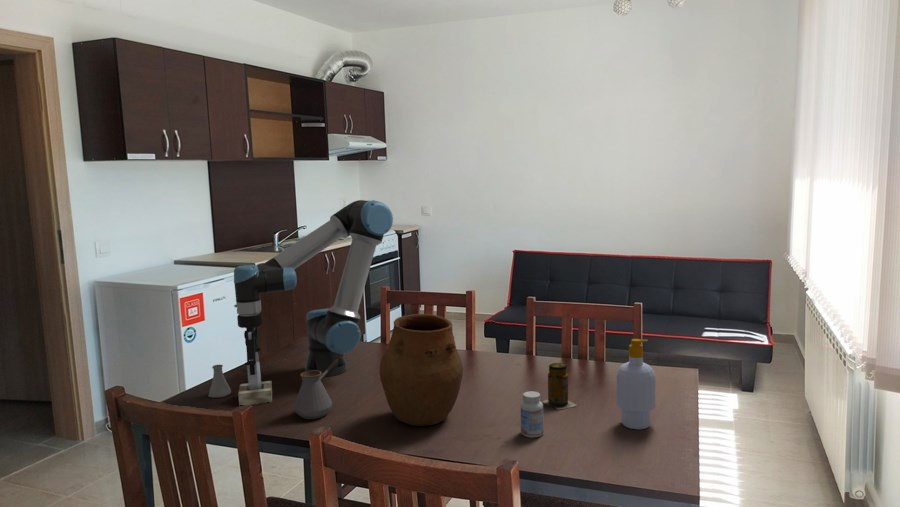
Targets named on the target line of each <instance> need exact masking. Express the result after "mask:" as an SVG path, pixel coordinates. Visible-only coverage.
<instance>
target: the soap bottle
mask: <svg viewBox="0 0 900 507" xmlns="http://www.w3.org/2000/svg"><path fill="white" fill-rule="evenodd" d="M648 341H649V339H640V338H632V339H631V342H630V344H629V345H628V346H629V347H628V354H629V355H628V361H627V362H624V363H622V364H621V365H620V366H619V369H618V371H617V372H616V374H617V375H616V405H617V407H619V408H620V409H621V423H622V425H623V426H624V427H626V428H628V429H631V430H645V429H648V428H649V427H650V426H651V411H652V410H654V409H655V408H656V403H657V402H656V397H657V396H656V386H657V385H656V380H657V379H656V373H655V371H654V369H653V368H652V367H651V365H650V364H648V363H645V362H644V345H643V344H641V343H643V342H644V343H646V342H648Z"/></svg>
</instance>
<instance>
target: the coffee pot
mask: <svg viewBox="0 0 900 507" xmlns="http://www.w3.org/2000/svg"><path fill="white" fill-rule="evenodd" d="M343 355H344V358H343ZM341 357H342V358H343V359H345V360H346V359H347V358H348V356H347V355H346V354H345V353H344V354H341V355H340V356H339V357H337V359H336V360H335V361H333V363H332V364H331V365H330V366H329V367H328V368H327V370H326V371H325V372H324V373H323V374H322V372H321V371H318V370H311V371H305V370H304V371H302V372H301V373H300V374H299V376H300V377H301V380H302V382H301V386H300V388H299V392H298V394H297V397H296V400H295V403H294V405H293V410H294V412H295V413H296V414H297V415H298V416H300V417H301V418H303V419H304V420H305V419H306V420H315V419H316V420H317V419H321V418H323V417H325V416H326V415H327V414H328V412H330V411H331V409H332V406H333V400H332V399H331V397H330V396H329V393H328V391H327V390H326V388H325V386H324V384H323V382H322V379H323V378H324V376H325V375H326V374H327V372H329V371H330V370H331V369H332V368H333V367H334V366H335V365H336V364H337V362H338V361H339V360H341ZM345 357H346V358H345ZM321 374H322V375H321Z"/></svg>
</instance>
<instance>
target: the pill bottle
mask: <svg viewBox="0 0 900 507" xmlns="http://www.w3.org/2000/svg"><path fill="white" fill-rule="evenodd" d="M522 399H523V401H522V402H521V403H520V433H521V435H522V436H524V437H526V438H530V439H532V438H539V437H542V436H543V435H544V431H545V430H544V405H543V404H544V403H543V402H542V401H541V393H539V391H533V390H531V391H526V392H524V393H522Z"/></svg>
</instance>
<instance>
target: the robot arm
mask: <svg viewBox="0 0 900 507" xmlns="http://www.w3.org/2000/svg"><path fill="white" fill-rule="evenodd" d="M393 222H394V217H393V212H392V211H391V209H390V207H389V205H387V204H385V203H384V202H381V201H378V200H375V199H372V200H371V199H370V200H365V199H358V200H354V201H352V202H350V203H349V204H347V205H345V206H344V207H342V208H341V209H339V210H338V211H336V212H335V213H334V214H332V215H330V217H329V220H328V221H327V222H325V223H324V224H322V225H320V226H319V227H318V228H316V229H315V230H313V231H311V232H309V233H308V234H307V235H305V236H304V237H302V238H301V239H299V240H297V241H296V242H294V243H293V244H291V245H290V246H289V247H287V248H285V249H284V250H282V251H281V252H279V253H277V254H276V255H275V256H273V257H272V258H270V259H269V260H267V261H266V262H261V263H258V264H244V265H239V266H236V267H235V268H233V283H234V284H233V285H234V292H235V294H234V295H235V302H236V304H234V306H233V307H234V308H236V314H238V315H237V316H236V318H237V326H238V327H239V328H242V329H246V330H244V333H243V334H244V335H243V336H244V340H245V342H244V343H245V347H246V362H244V365H245V366H247V365H248V372H247V378H248V377H249V385H253V384H258V375H257V363H256V362H260V360H259V352H260V351H261V347H259V345H258V334H259V333H258V329H256V328H257V327H260V326H261V325H262V324H263V314H262V313H261V312H262V301H261V300H262V298H261V294H268V293H278V292H287V291H290V290H294V289H295V288H296V287H297V282H298V279H297V278H298V277H297V272H296V271H295V270H296V269H297V268H298V267H300V266H301V265H303V264H305V263H306V262H307V261H309V260H310V259H312V258H314V257H316V255H317V254H319V253H321V252H322V251H324V250H326V249H328V248H329V247H331V246H332V245H333V244H335V243H336V242H338V241H339V240H340V239H347V238H349V236H350V238H351V239H352V240H351V244H350V247H349V250H348V252H347V253H348V254H347V258H346V262H345V264H344V268H343V271H342V275H341V278H340V282H339V286H338V289H337V293H336V295H335V300H334V304H333V305H332V306H331V307H328V308H327V307H326V308H321V309H314V310H310V311H308V312H307V313H306V316H305V318H306V320H305V322H306V333H307V345H308V346H307V347H308V353H307V357H306V362H305V365H304V372H305V371H311V370H318V371H321V372H322V374H323V373H324V372H325V371H326V370H327V368H328V367H329V366H330V365H331V364H332V363H333V361H335V360H336V359H337V357H339V356H340V355H341V354H344V355H343V358H345V354H347V353H350V352H351V351H353V350H355V348H357V347H358V345H359V343H360V341H361V337H362V333H361V328H360V327H359V324H360V322H361V321H360V320H361V316H360V313H359V309H360V305H361V301H362V298H363V294H364V290H365V286H366V282H367V280H368V276H369V272H370V269H371V266H372V261H373V258H374V255H375V251H376V247H377V246H379V245H380V244H382V243H383V239H384V235H386V234H387V233H389V231H390V230H391V228H392V226H393ZM343 358H342V357H341V360H339V361H338V362H337V364H336V365H335V366H334V367H333V368H332V369H331V370H330V371H329V372H327V374H326V375H325V376H324V377H325V378H326V377H332V376H337V375H341V374H343V373H345V372H346V371H347V369H348V365H347V364H348V363H347V361H346V359H343ZM322 374H321V375H322ZM324 377H323V378H324Z"/></svg>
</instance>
